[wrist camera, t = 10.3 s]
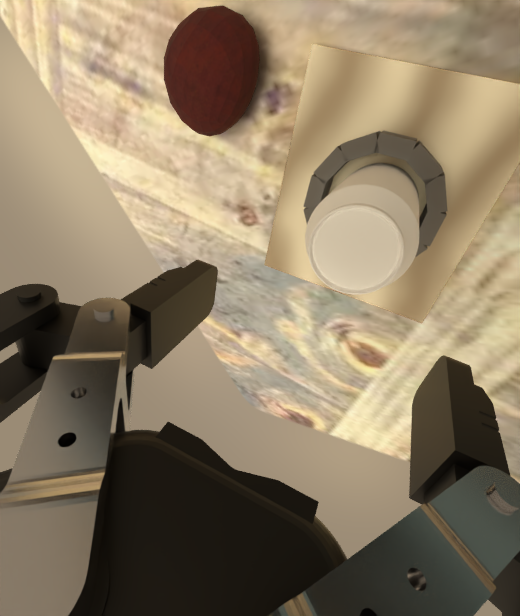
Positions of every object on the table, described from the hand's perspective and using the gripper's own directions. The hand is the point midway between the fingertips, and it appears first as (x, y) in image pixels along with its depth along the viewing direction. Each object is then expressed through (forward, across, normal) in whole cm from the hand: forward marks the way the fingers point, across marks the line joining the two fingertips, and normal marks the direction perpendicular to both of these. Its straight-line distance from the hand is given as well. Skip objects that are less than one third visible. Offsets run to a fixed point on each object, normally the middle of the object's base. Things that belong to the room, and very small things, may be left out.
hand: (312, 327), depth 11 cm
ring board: (+20, 0, 0) cm, 21 cm away
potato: (+21, +15, -6) cm, 26 cm away
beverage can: (+20, 0, 0) cm, 20 cm away
